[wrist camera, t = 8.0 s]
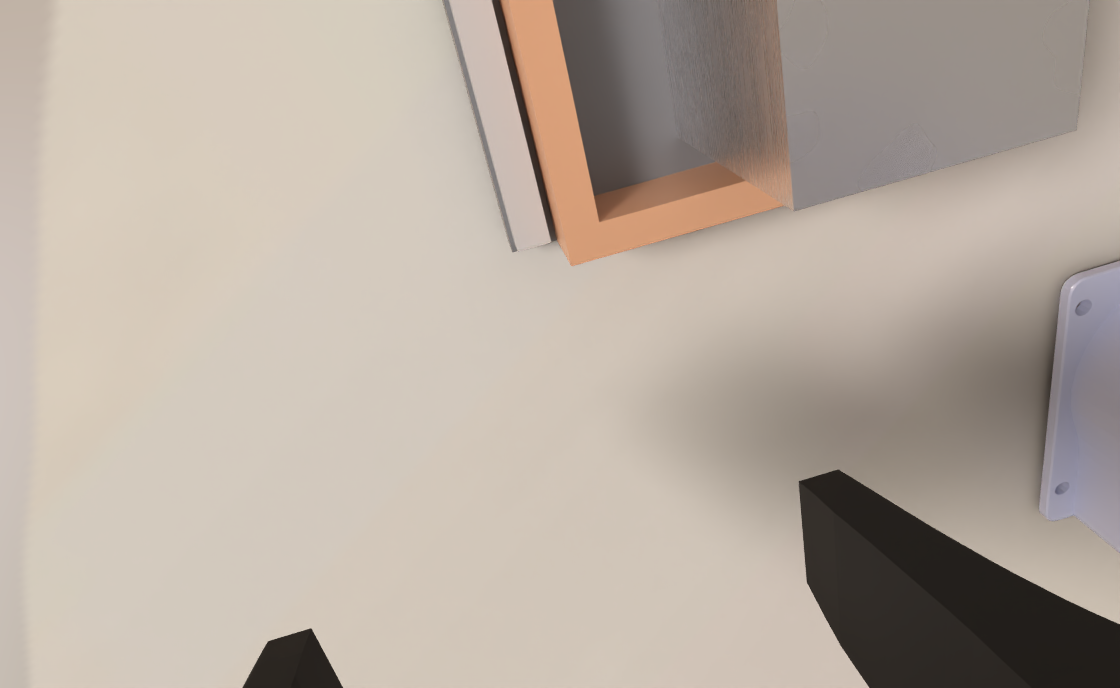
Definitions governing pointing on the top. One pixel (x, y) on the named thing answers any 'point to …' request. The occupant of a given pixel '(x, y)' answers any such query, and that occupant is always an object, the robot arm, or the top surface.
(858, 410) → the top surface
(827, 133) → the brushed metal cube
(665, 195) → the frame
